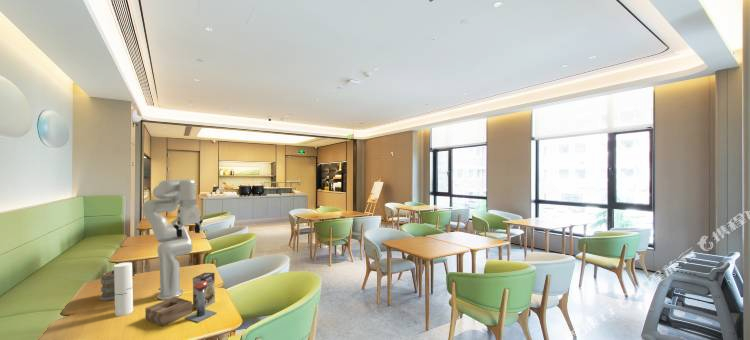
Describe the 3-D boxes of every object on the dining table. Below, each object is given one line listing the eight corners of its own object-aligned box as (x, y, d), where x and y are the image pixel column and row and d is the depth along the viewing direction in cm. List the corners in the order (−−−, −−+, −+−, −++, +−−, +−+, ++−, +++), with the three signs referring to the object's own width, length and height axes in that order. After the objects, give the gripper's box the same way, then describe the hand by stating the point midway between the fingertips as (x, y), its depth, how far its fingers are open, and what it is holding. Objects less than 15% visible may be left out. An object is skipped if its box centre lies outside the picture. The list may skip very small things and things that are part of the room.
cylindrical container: (136, 310, 160) (135, 262, 159) (121, 316, 153) (120, 267, 153) (127, 308, 162) (126, 261, 162) (111, 314, 155) (110, 265, 155)
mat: (184, 318, 151) (184, 317, 151) (203, 309, 160) (203, 308, 160) (197, 322, 146) (197, 321, 146) (216, 313, 155) (216, 312, 155)
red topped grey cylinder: (199, 318, 149) (198, 285, 149) (191, 316, 152) (190, 283, 152) (210, 313, 154) (210, 281, 154) (202, 311, 157) (202, 279, 157)
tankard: (94, 299, 174) (94, 273, 174) (118, 290, 186) (117, 266, 186) (121, 302, 169) (121, 275, 169) (144, 293, 182) (143, 268, 181)
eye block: (145, 320, 149) (145, 308, 149) (174, 308, 162) (174, 296, 162) (162, 326, 143) (162, 313, 143) (191, 313, 156) (191, 301, 156)
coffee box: (203, 309, 160) (202, 278, 160) (192, 308, 162) (192, 277, 161) (215, 301, 169) (215, 272, 169) (205, 300, 170) (204, 271, 170)
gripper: (175, 205, 154) (176, 239, 154) (207, 201, 170) (208, 232, 170) (166, 204, 157) (167, 237, 158) (198, 200, 173) (199, 231, 173)
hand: (188, 234), depth 164 cm, fingers open, 9 cm apart
